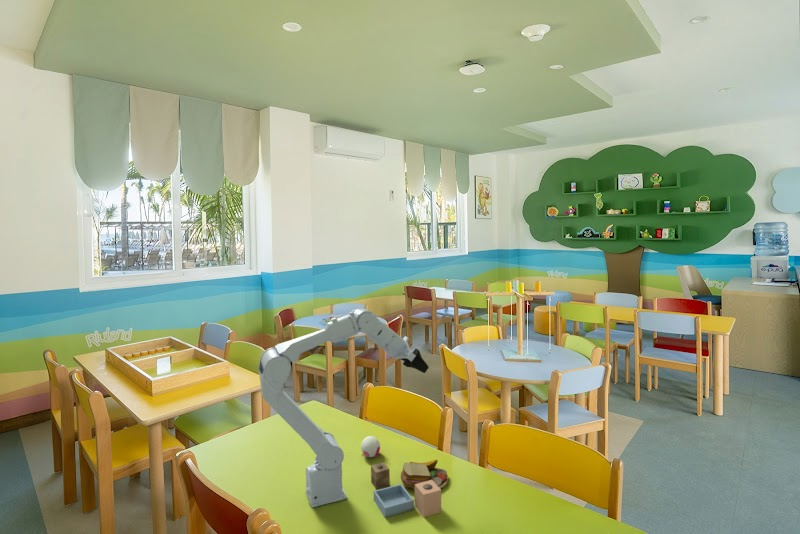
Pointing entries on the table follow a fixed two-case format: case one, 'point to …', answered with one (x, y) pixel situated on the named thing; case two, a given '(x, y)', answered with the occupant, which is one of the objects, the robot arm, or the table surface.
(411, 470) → the toy sandwich meal
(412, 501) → the tray
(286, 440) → the table surface
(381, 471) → the walnut block
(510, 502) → the table surface
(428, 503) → the terracotta block
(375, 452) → the stress ball
